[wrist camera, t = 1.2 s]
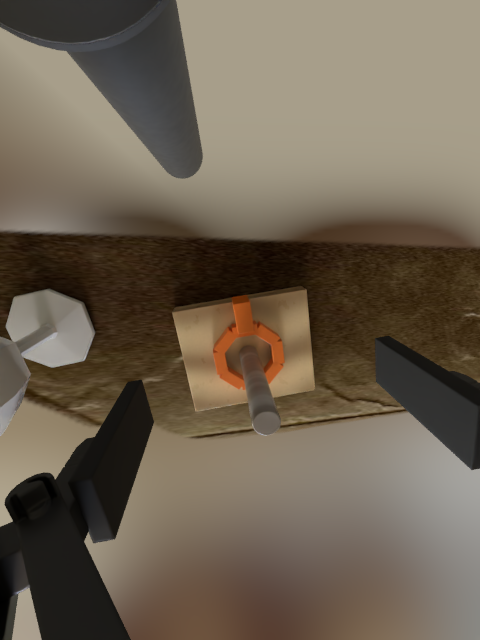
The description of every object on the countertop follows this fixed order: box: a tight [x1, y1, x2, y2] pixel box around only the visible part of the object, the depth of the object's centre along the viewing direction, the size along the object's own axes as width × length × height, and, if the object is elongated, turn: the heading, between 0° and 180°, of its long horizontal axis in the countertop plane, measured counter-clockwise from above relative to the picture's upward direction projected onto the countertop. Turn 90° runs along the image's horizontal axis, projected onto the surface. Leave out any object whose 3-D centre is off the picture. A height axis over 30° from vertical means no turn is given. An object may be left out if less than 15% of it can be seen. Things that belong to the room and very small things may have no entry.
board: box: [172, 286, 315, 435], centre depth 27 cm, size 12×14×14 cm
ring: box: [213, 295, 285, 390], centre depth 29 cm, size 10×7×3 cm
